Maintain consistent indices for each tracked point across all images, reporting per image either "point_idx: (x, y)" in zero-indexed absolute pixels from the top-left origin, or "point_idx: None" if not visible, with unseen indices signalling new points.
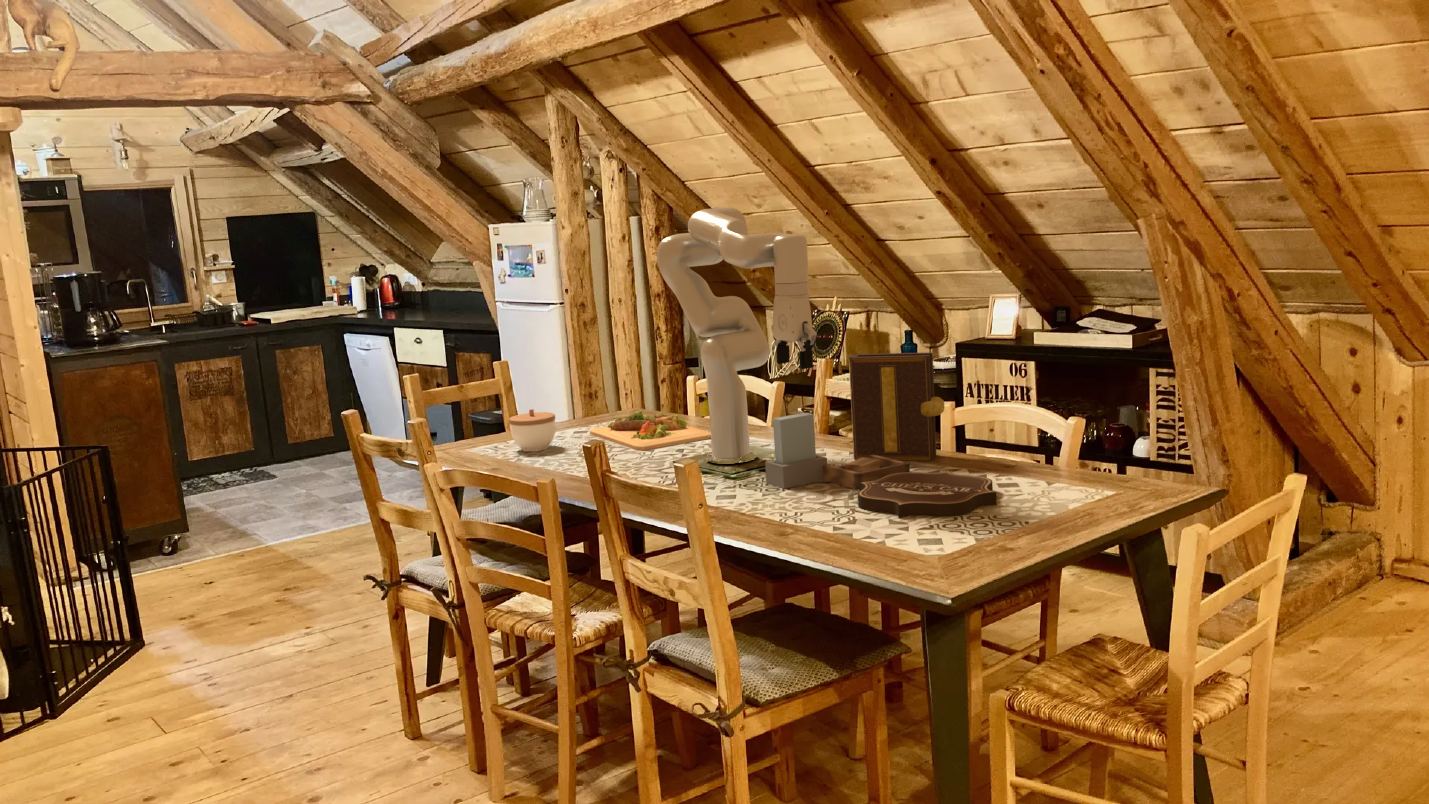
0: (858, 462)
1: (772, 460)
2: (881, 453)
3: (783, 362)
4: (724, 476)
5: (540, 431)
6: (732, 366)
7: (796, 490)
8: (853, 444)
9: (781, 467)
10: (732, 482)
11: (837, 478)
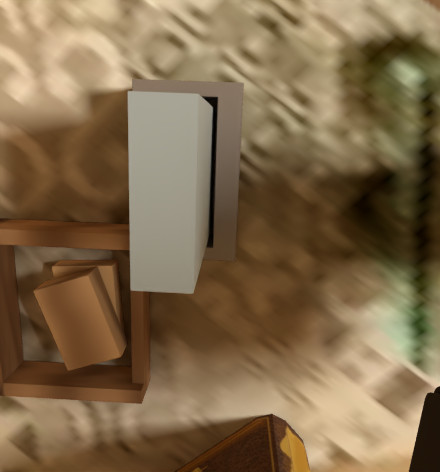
0: (75, 311)
1: (238, 112)
2: (210, 461)
3: (418, 445)
4: (423, 47)
5: None
6: None
7: (107, 101)
8: (284, 447)
9: (140, 79)
10: (335, 18)
11: (79, 226)
